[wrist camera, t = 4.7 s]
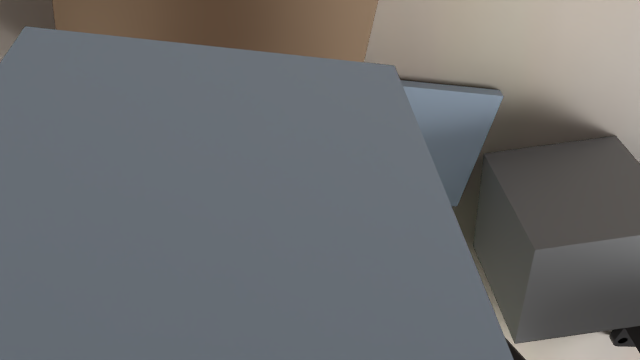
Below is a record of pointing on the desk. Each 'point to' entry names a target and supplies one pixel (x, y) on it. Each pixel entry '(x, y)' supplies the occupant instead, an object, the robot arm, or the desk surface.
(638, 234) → the charcoal cube
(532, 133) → the desk surface
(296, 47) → the walnut plinth
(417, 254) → the blue cube
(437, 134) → the swatch
